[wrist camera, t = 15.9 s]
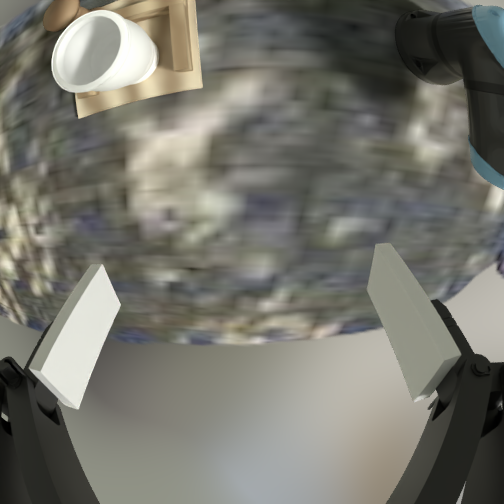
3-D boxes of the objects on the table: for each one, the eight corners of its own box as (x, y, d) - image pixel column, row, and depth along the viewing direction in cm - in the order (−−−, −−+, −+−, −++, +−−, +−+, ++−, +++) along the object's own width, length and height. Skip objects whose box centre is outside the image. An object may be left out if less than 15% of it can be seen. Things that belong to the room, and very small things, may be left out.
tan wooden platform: (194, -17, 25) (178, -49, 15) (202, 87, 36) (187, 84, 26) (74, 21, 26) (34, 12, 15) (81, 117, 36) (40, 129, 26)
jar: (101, 90, 33) (45, 96, 21) (111, 33, 28) (60, 17, 15) (159, 91, 35) (119, 91, 22) (172, 31, 30) (138, 4, 17)
